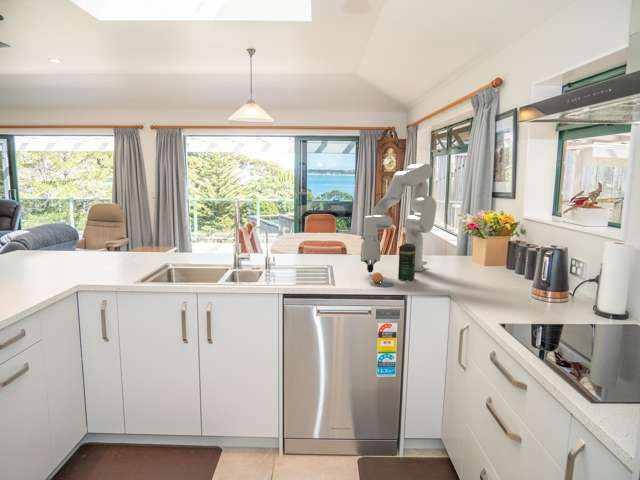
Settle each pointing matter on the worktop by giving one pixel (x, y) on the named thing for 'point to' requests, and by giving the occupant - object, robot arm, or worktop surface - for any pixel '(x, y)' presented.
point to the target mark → (382, 284)
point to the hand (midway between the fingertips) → (370, 271)
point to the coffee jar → (406, 262)
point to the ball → (377, 277)
